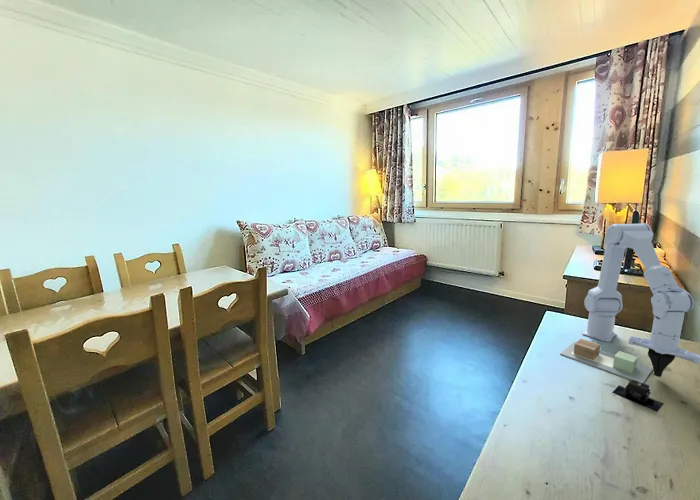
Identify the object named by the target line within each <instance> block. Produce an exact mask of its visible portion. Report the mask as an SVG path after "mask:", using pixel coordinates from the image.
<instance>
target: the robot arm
mask: <svg viewBox="0 0 700 500" xmlns="http://www.w3.org/2000/svg"><path fill="white" fill-rule="evenodd" d="M653 239H654V232H653V230H652V227H651V226H650V224H648V223H647V222H646V223H645V222H644V223H643V222H642V223H612V224H611V225H609V226H608V227H607V228H606V232H605V237H604V242H603V244H604V245H605V248H604V252H603V259H602V263H601V268H600V274H599V278H598V284H597V286H595V287H593V288H591V289H588V292H587V294H586V297H585V298H584V302H583V303H584V307H585V309H586V310H587V311H588V312H589V313H588V318H587V328H586V329H585V330H584V331H583V332H582V335H583V336H586V337H590V338H594V339H595V340H596V339H597V340H600V341H603V342H606V343H609V342H610V341H611V340H612V339H613V338H614V337H615V336H616V335H617V332H614V328H615V322H616V316H617V314H618V313H621V311H622V309H623V294H622V293H620V292H619V291H618V290H617V288H618V284H619V283H618V282H619V279H620V274H621V269H622V265H623V261H624V255H625V251H626V249H627V248H628V249H632V250H633V251H634V252H635V255H636V256H637V258H638V259H639V260H640V262H641V264H642V265H643V268H644V269H645V271H644V272H643V278H644V280H645V281H646V283H647V284H648V287H649V289H650V290H651V293H652V294H653V295H652V296H651V298H650V302H651V306H652V314H653V321H652V326H651V332H650V338H649V339H648V338H641V337H637V336H633V335H630V336H629V338H628V345H631V346H634V345H635V346H638V347H641V348H645V349H648V350H647V351H648V352H647V356H648V358H649V360H650V362H651V366H652V367H653V370H652V371H653V376H655V377H657V378H661V377H662V376H663V372H664V370H665V369H666V368H667V367H668V366H669V365H670V364H672V363H673V361H674V360H675V359H676V358H680V359H683V360H686V361H690V362H692V363H693V364H696V365H700V354H697V353H694V352H691V351H689V350H687V349H684V348H681V347H679V346H680V345H679V343H680V340H681V339H680V338H681V334H682V328H683V325H684V319H685V313H687V312H690V311H691V310H693V307H694V299H693V297H692V294H691V293H689V292H688V291H686V290H685V289H683V288H682V287H680V286H679V284H678V283H677V281H676V279H675V278H674V275H673V274H672V272H671V270H670V268H669V267H666V266H663V265H662V263H661V262H660V259H659V257H658V254H657V252H656V249H655V248H654V245H653V243H652V240H653Z"/></svg>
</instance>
